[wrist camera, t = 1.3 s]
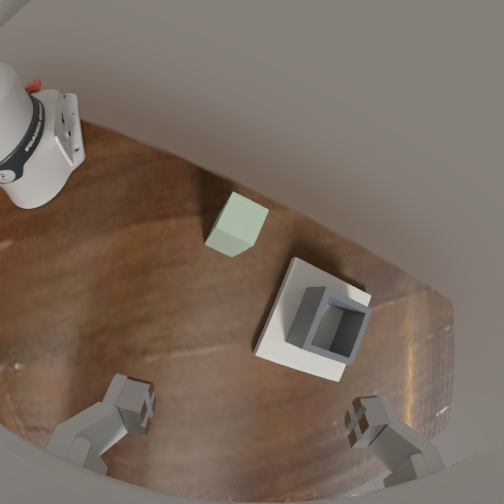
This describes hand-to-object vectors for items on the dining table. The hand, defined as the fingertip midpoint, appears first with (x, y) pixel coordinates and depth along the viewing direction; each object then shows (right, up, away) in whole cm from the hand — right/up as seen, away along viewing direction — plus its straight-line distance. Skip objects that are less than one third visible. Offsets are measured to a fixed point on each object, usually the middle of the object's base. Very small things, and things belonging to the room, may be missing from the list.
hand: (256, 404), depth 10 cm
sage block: (-4, +8, +32) cm, 34 cm away
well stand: (+10, -6, +34) cm, 36 cm away
